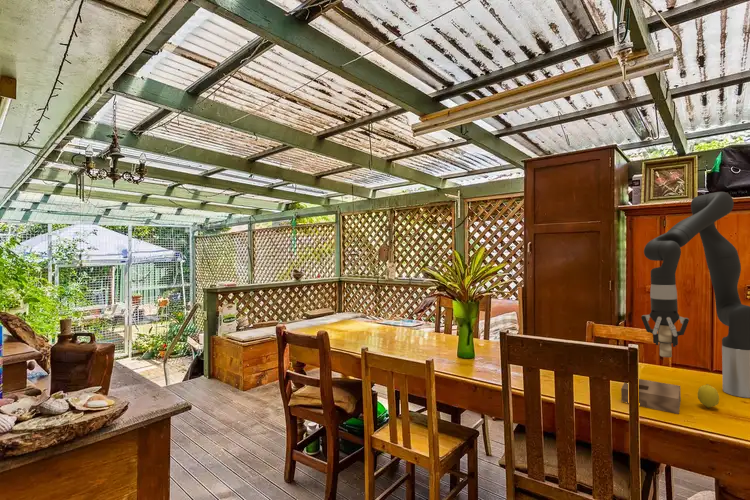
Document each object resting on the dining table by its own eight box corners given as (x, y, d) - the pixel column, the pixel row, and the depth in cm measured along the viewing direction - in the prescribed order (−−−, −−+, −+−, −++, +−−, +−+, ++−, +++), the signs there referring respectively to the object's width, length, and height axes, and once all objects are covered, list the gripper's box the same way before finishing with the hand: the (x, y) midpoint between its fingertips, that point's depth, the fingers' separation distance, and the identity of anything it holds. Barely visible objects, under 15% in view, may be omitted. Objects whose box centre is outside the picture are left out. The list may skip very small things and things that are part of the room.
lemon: (697, 403, 135) (697, 380, 135) (718, 407, 132) (718, 383, 132) (697, 408, 131) (697, 385, 131) (719, 412, 127) (719, 388, 127)
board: (680, 399, 138) (680, 385, 138) (678, 414, 127) (678, 398, 127) (627, 389, 149) (627, 376, 149) (621, 402, 137) (621, 388, 137)
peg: (673, 355, 137) (672, 324, 137) (673, 358, 133) (672, 326, 133) (658, 353, 139) (657, 323, 139) (657, 356, 136) (656, 325, 136)
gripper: (689, 297, 135) (691, 345, 135) (640, 295, 144) (642, 340, 144) (689, 299, 129) (691, 350, 129) (638, 297, 138) (639, 345, 138)
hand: (665, 345), depth 136 cm, fingers closed on peg, 4 cm apart
